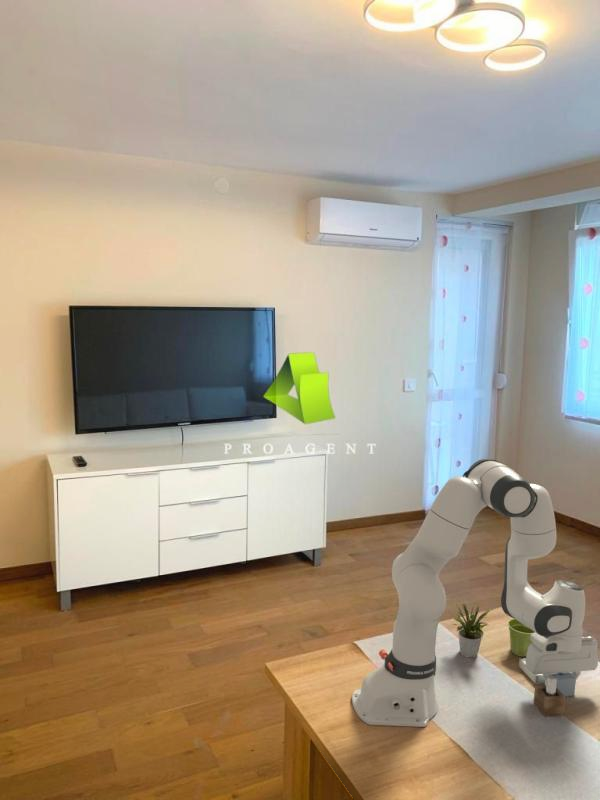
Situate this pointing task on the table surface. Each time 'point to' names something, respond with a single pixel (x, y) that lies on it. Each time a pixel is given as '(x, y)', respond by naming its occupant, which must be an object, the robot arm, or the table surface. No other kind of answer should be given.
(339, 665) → the table surface
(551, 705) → the walnut block
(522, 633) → the plant pot
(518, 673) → the table surface
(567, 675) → the slate-blue block
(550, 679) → the pin gauge
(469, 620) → the house plant
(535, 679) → the off-white tray
